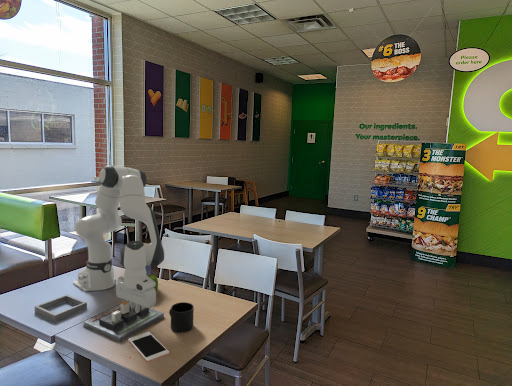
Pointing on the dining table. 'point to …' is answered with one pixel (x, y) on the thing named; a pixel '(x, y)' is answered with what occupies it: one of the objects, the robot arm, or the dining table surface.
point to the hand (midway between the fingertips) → (135, 311)
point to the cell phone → (148, 346)
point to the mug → (181, 317)
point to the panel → (127, 333)
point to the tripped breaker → (124, 307)
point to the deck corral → (54, 317)
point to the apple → (154, 281)
